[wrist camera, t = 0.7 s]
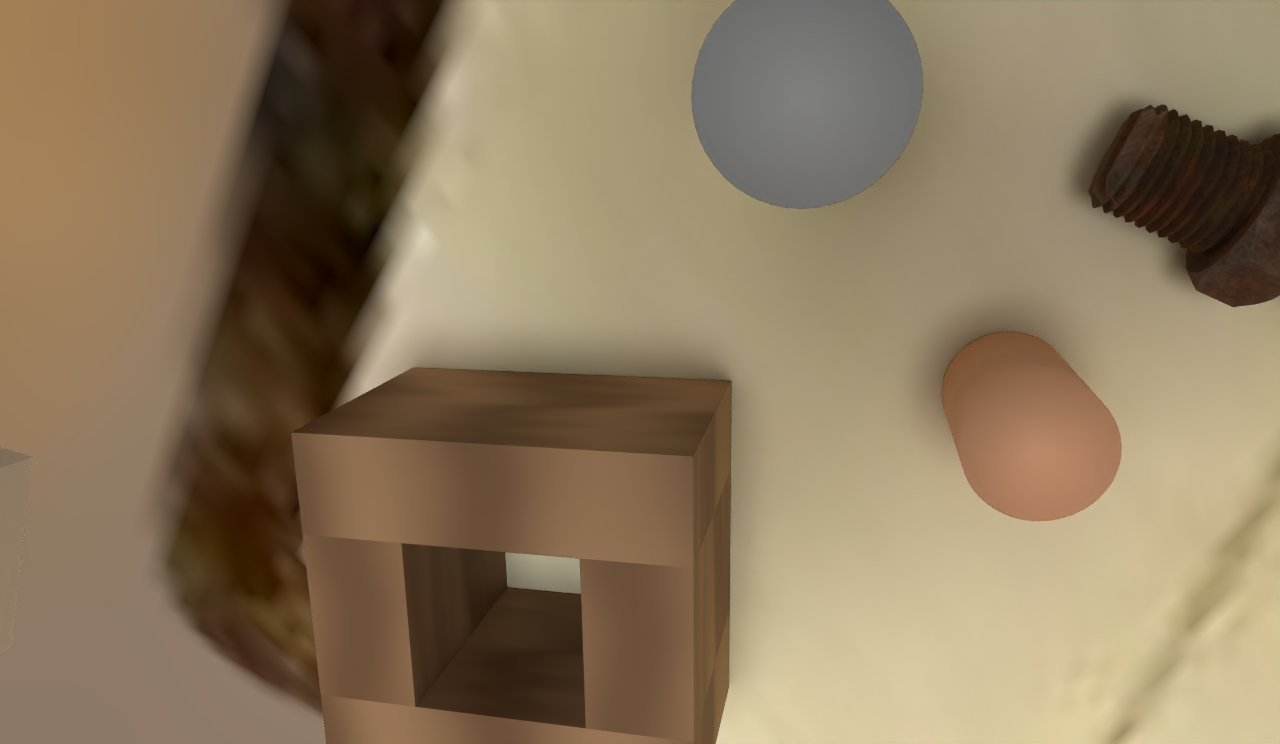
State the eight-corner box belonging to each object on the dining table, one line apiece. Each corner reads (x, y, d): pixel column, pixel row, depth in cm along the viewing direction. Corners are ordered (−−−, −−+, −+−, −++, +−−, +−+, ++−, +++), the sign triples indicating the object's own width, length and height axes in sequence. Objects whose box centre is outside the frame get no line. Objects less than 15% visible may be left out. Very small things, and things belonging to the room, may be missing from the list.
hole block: (731, 380, 32) (693, 456, 25) (728, 686, 35) (693, 836, 28) (413, 367, 35) (290, 432, 28) (435, 653, 38) (330, 782, 30)
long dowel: (896, 41, 29) (929, -36, 15) (890, 174, 30) (915, 209, 16) (765, 46, 30) (691, -23, 16) (763, 175, 31) (691, 208, 17)
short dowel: (1077, 334, 30) (1129, 381, 24) (1065, 453, 31) (1112, 526, 25) (945, 330, 30) (966, 375, 25) (938, 446, 31) (955, 515, 26)
